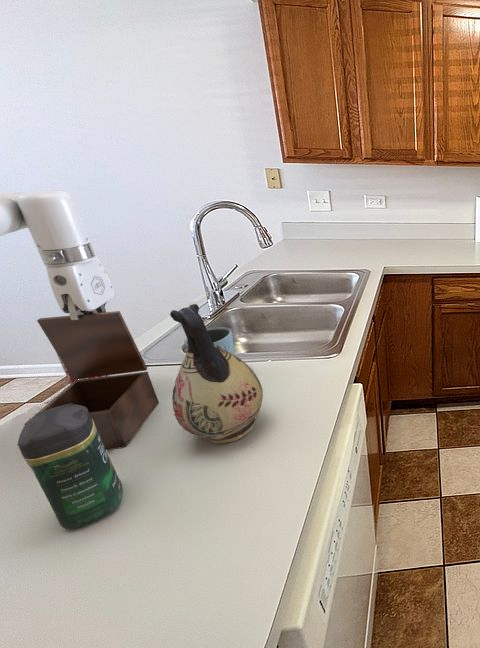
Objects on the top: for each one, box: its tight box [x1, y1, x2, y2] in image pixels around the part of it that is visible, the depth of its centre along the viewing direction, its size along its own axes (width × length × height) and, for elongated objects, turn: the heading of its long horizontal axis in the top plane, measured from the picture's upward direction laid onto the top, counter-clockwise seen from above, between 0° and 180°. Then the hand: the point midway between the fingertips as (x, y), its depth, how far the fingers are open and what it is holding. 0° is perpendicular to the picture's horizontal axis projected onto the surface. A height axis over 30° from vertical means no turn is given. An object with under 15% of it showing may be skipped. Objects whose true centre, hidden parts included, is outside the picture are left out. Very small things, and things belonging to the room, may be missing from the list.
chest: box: [23, 371, 160, 451], centre depth 83 cm, size 15×14×9 cm
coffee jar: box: [16, 403, 123, 530], centre depth 64 cm, size 10×8×19 cm
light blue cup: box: [183, 326, 237, 357], centre depth 101 cm, size 10×10×12 cm
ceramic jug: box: [169, 303, 264, 448], centre depth 79 cm, size 17×15×30 cm
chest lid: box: [36, 310, 148, 380], centre depth 84 cm, size 15×14×1 cm
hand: (101, 335), depth 86 cm, fingers closed
